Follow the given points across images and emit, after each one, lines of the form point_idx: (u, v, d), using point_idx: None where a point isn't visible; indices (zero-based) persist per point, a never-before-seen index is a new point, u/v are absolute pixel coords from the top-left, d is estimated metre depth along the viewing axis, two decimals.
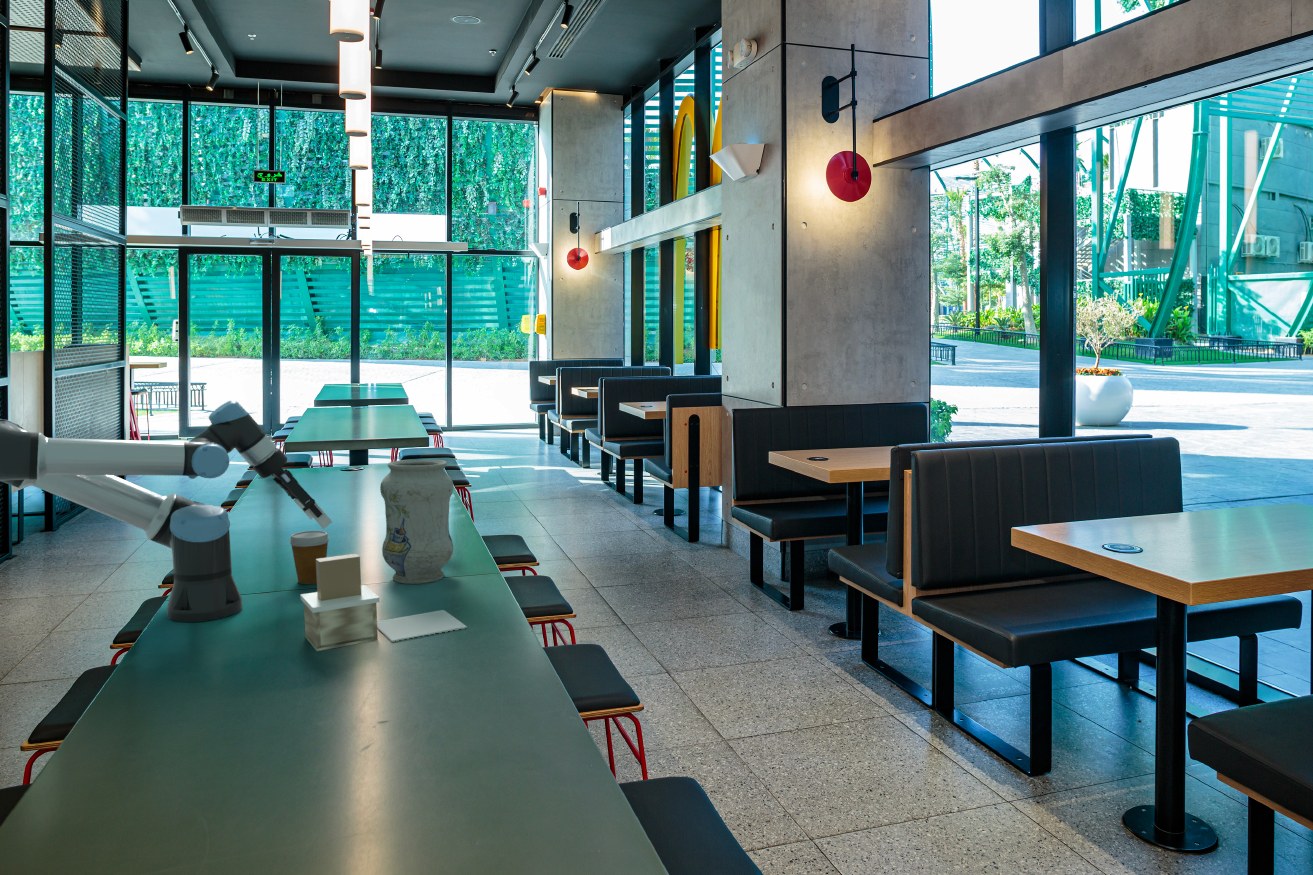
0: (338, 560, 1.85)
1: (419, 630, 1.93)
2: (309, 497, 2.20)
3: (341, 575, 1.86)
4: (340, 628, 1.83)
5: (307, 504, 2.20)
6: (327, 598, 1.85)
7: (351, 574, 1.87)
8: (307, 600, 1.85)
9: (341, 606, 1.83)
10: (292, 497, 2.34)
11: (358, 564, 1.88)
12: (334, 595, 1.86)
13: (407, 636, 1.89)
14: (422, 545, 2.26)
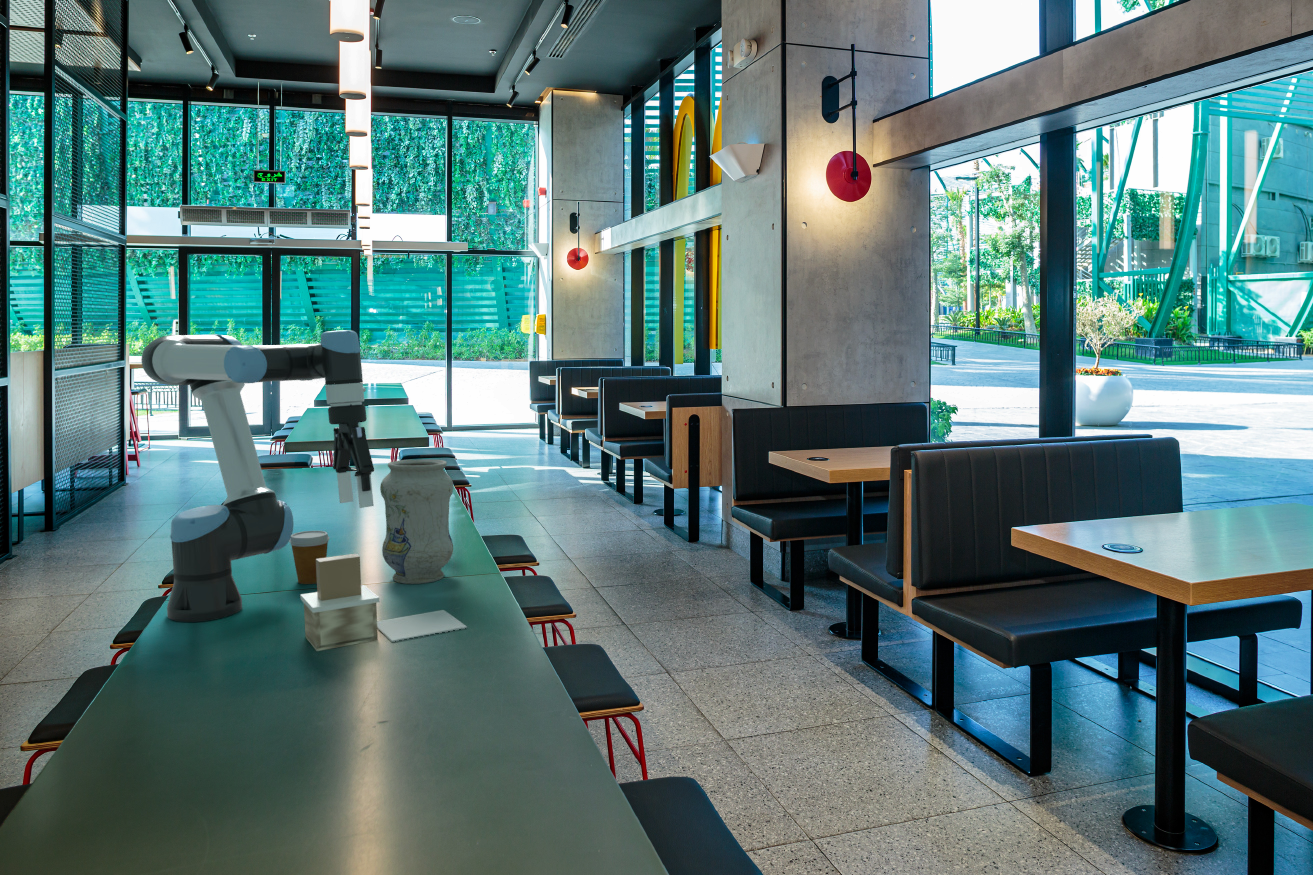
0: (338, 560, 1.85)
1: (419, 630, 1.93)
2: (370, 463, 1.87)
3: (341, 575, 1.86)
4: (340, 628, 1.83)
5: (365, 468, 1.86)
6: (327, 598, 1.85)
7: (351, 574, 1.87)
8: (307, 600, 1.85)
9: (341, 606, 1.83)
10: (338, 469, 1.99)
11: (358, 564, 1.88)
12: (334, 595, 1.86)
13: (407, 636, 1.89)
14: (422, 545, 2.26)
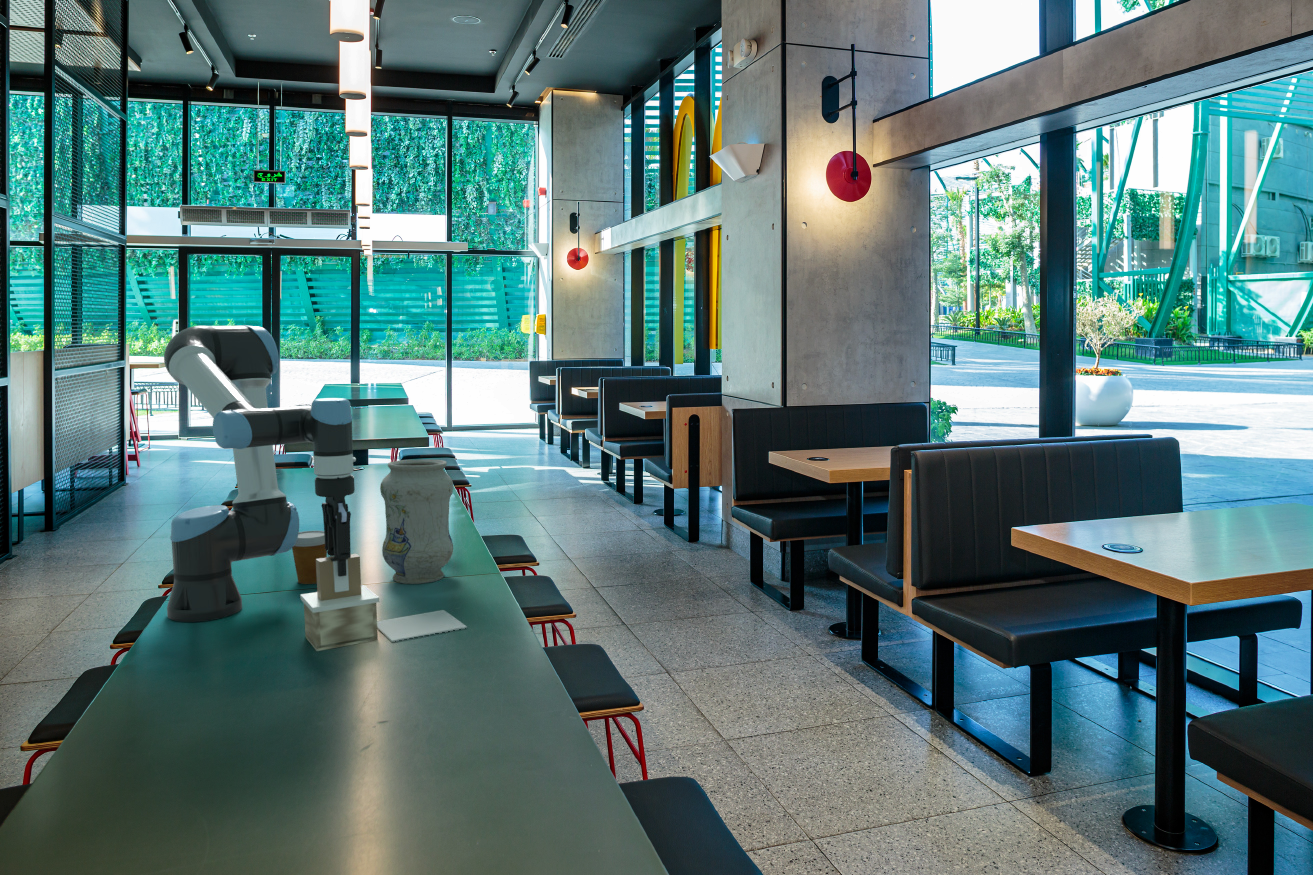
0: None
1: (419, 630, 1.93)
2: (348, 551, 1.83)
3: None
4: (340, 628, 1.83)
5: (341, 555, 1.82)
6: (327, 598, 1.85)
7: (351, 574, 1.87)
8: (307, 600, 1.85)
9: (341, 606, 1.83)
10: (329, 549, 1.88)
11: (358, 564, 1.88)
12: (334, 595, 1.86)
13: (407, 636, 1.89)
14: (422, 545, 2.26)
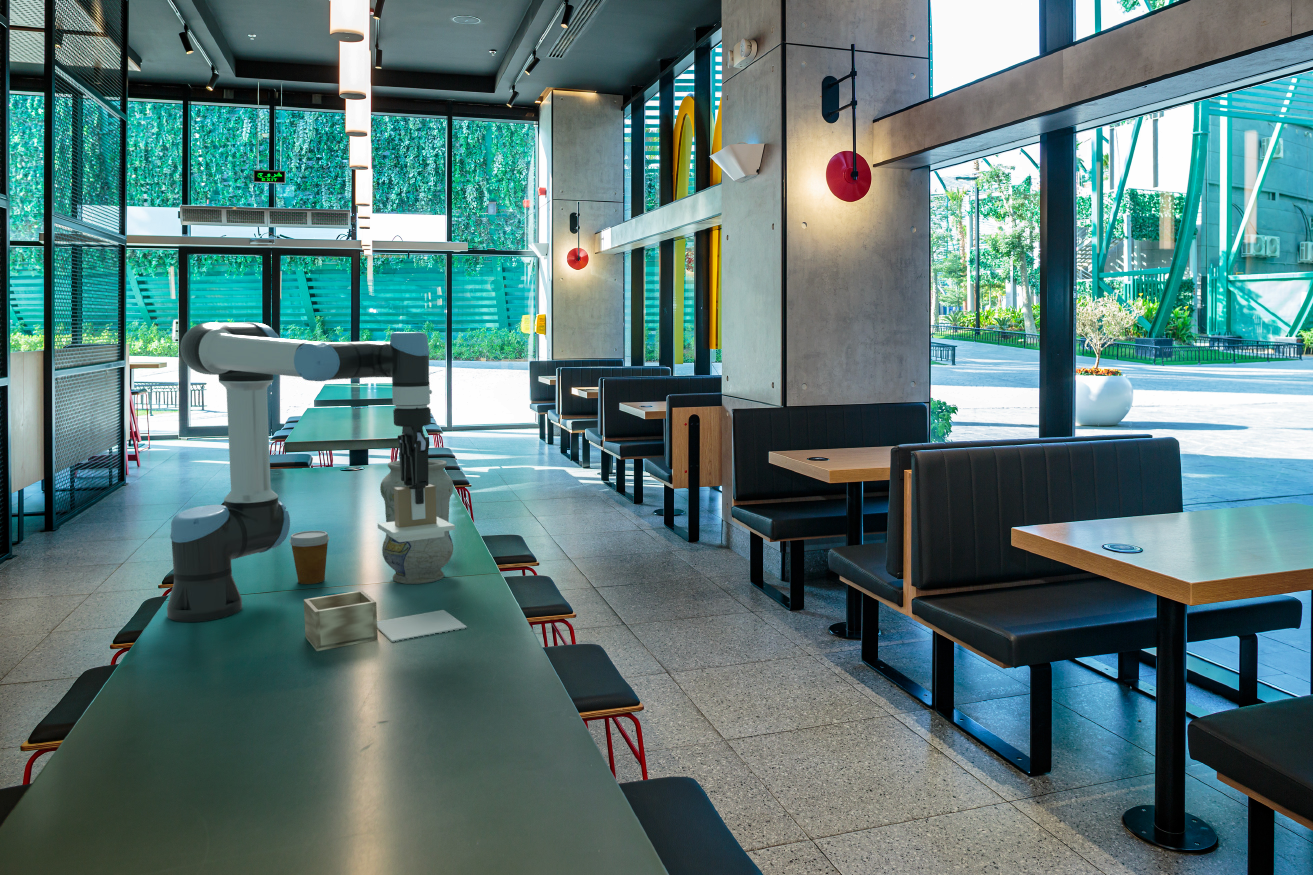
0: None
1: (419, 630, 1.93)
2: (426, 479, 1.89)
3: None
4: (340, 628, 1.83)
5: (419, 482, 1.88)
6: (405, 525, 1.91)
7: (427, 503, 1.93)
8: (386, 527, 1.91)
9: (419, 532, 1.89)
10: (406, 479, 1.94)
11: (434, 493, 1.94)
12: (411, 522, 1.92)
13: (407, 636, 1.89)
14: (422, 545, 2.26)
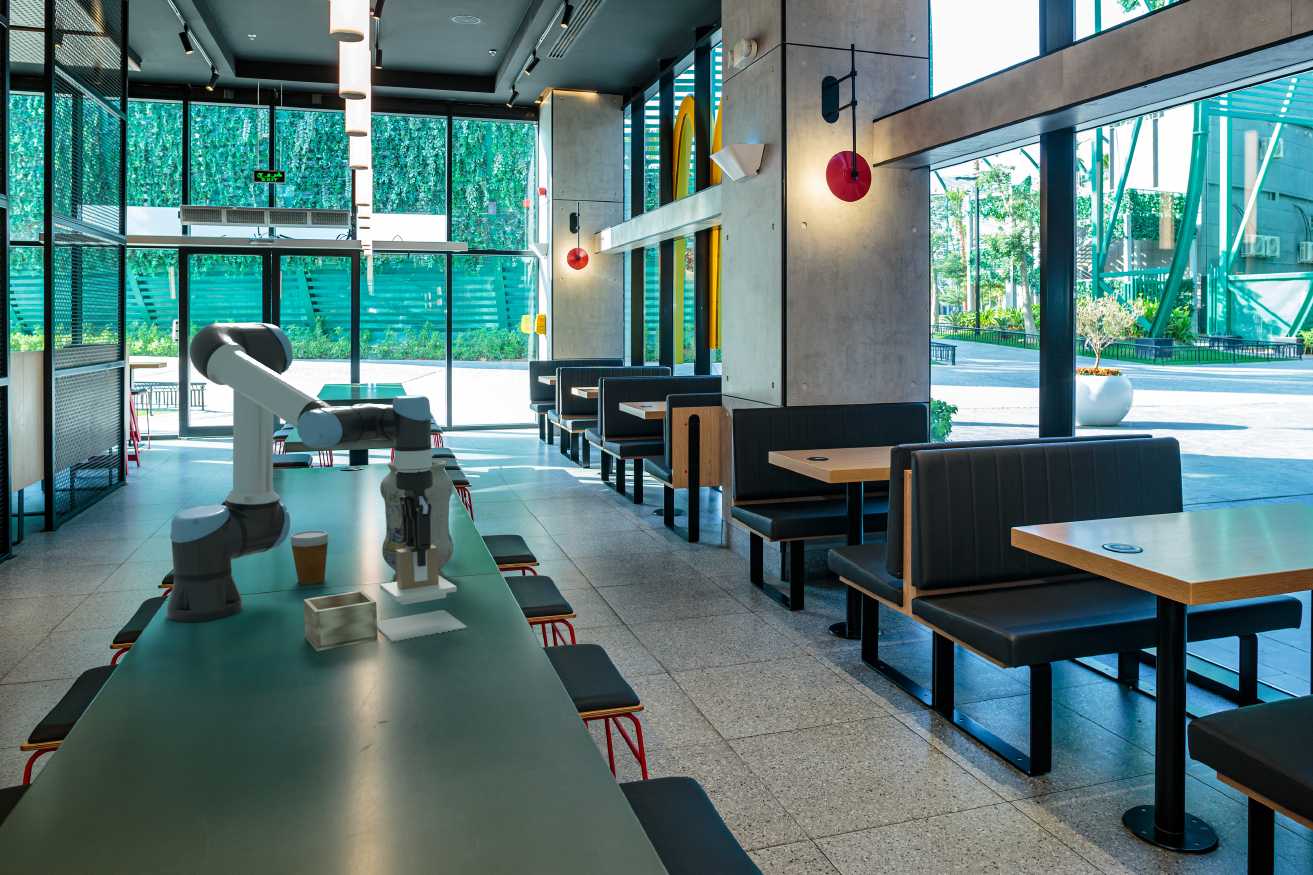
0: None
1: (419, 630, 1.93)
2: (428, 542, 1.90)
3: None
4: (340, 628, 1.83)
5: (421, 546, 1.90)
6: (407, 587, 1.93)
7: (430, 564, 1.95)
8: (388, 589, 1.92)
9: (421, 595, 1.90)
10: (408, 541, 1.96)
11: (436, 555, 1.96)
12: (413, 584, 1.93)
13: (407, 636, 1.89)
14: None
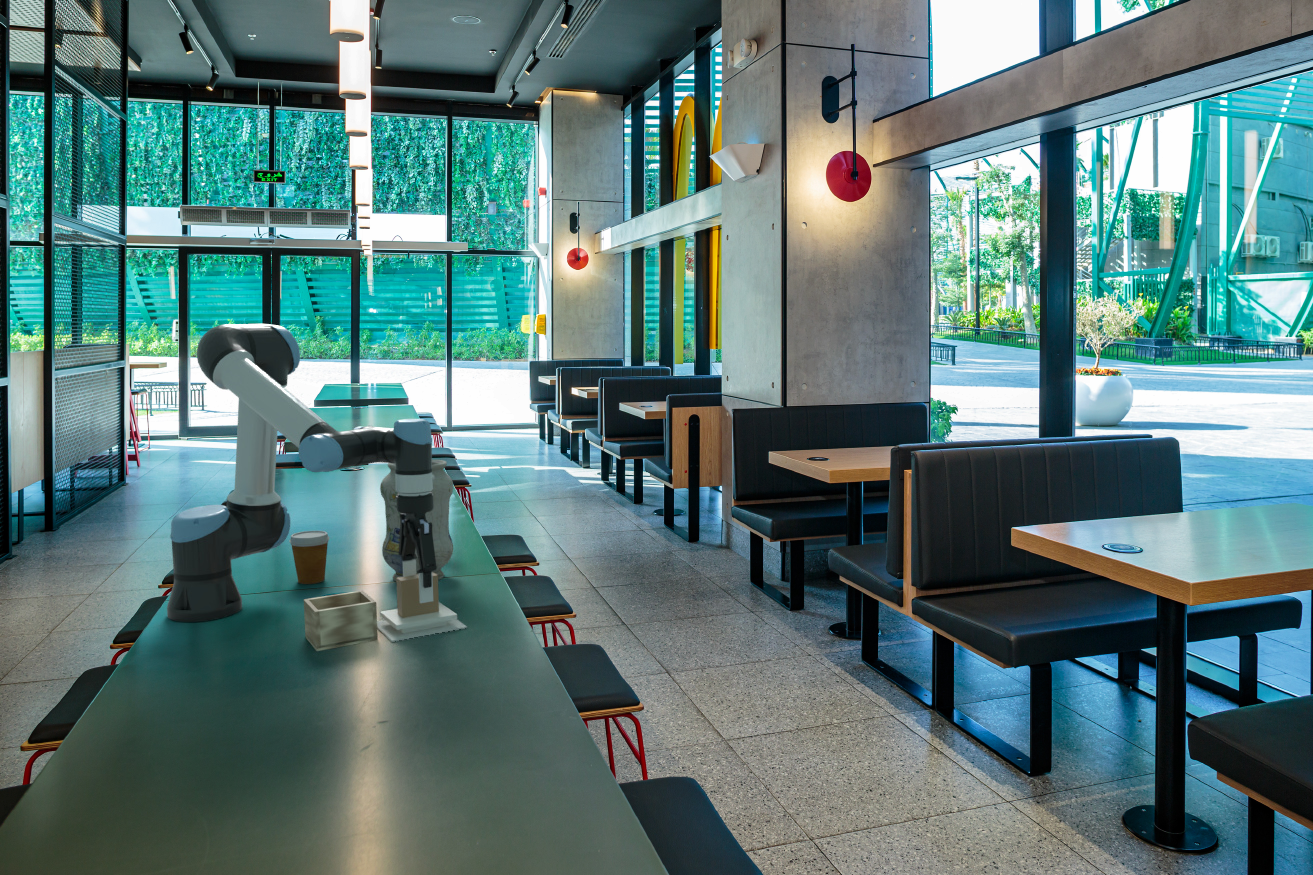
0: (418, 579, 1.94)
1: (419, 630, 1.93)
2: (434, 562, 1.88)
3: None
4: (340, 628, 1.83)
5: (427, 567, 1.88)
6: (408, 615, 1.94)
7: None
8: (389, 617, 1.93)
9: (422, 623, 1.91)
10: (404, 556, 1.99)
11: (436, 582, 1.96)
12: (414, 612, 1.94)
13: (407, 636, 1.89)
14: None
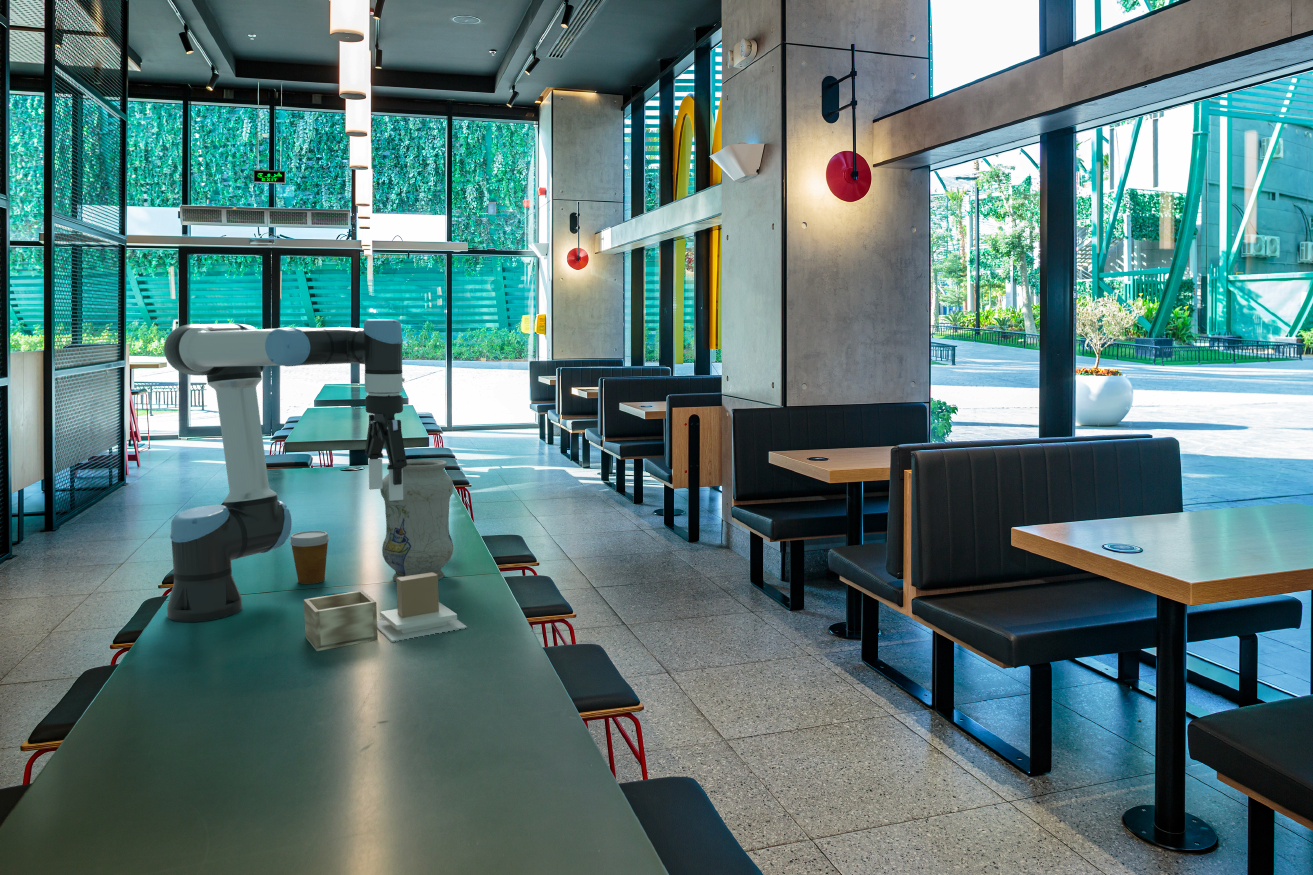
0: (418, 579, 1.94)
1: (419, 630, 1.93)
2: (404, 458, 1.85)
3: (420, 593, 1.95)
4: (340, 628, 1.83)
5: (398, 463, 1.84)
6: (408, 615, 1.94)
7: (430, 592, 1.96)
8: (389, 617, 1.93)
9: (422, 623, 1.91)
10: (370, 455, 1.98)
11: (436, 582, 1.96)
12: (414, 612, 1.94)
13: (407, 636, 1.89)
14: (422, 545, 2.26)
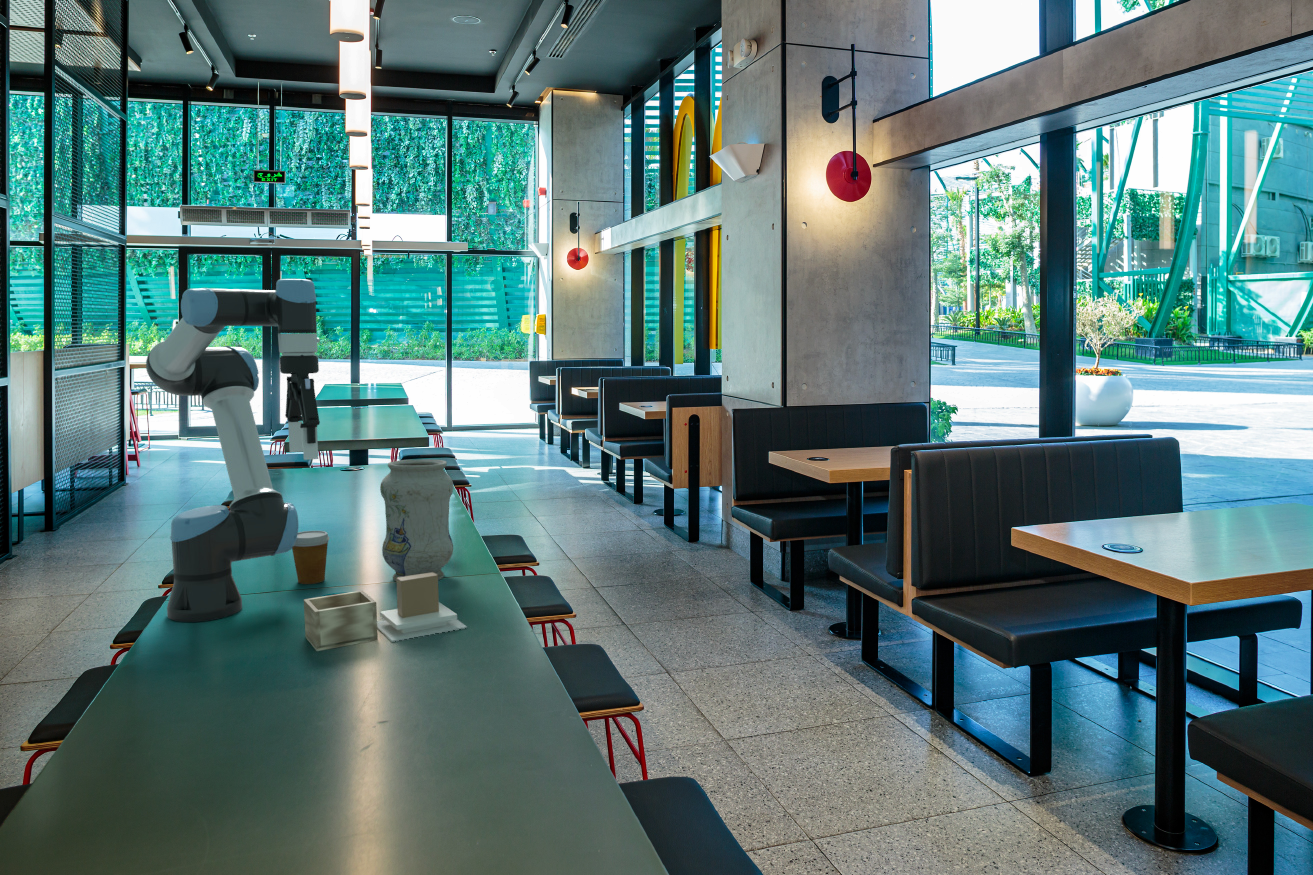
0: (418, 579, 1.94)
1: (419, 630, 1.93)
2: (316, 416, 1.85)
3: (420, 593, 1.95)
4: (340, 628, 1.83)
5: (310, 421, 1.84)
6: (408, 615, 1.94)
7: (430, 592, 1.96)
8: (389, 617, 1.93)
9: (422, 623, 1.91)
10: (289, 418, 1.98)
11: (436, 582, 1.96)
12: (414, 612, 1.94)
13: (407, 636, 1.89)
14: (422, 545, 2.26)
